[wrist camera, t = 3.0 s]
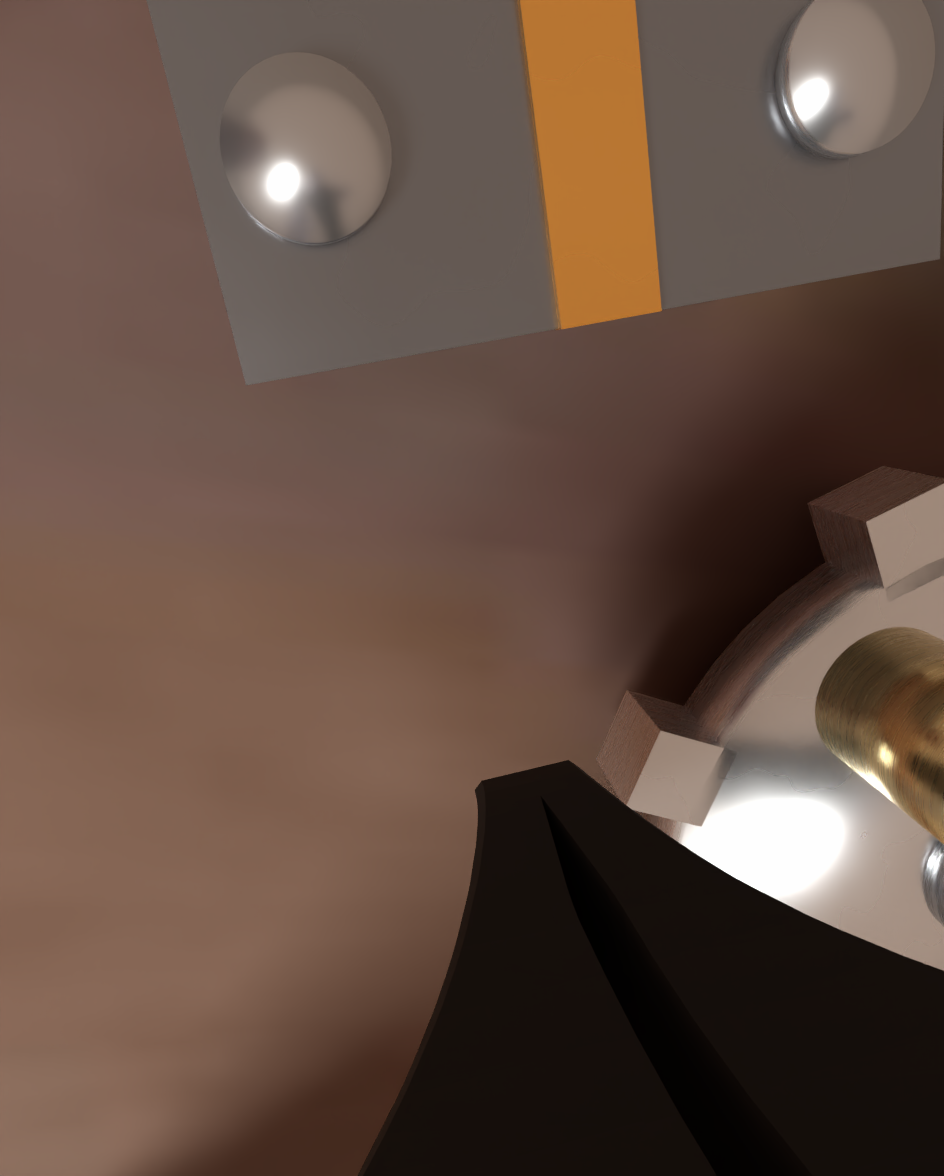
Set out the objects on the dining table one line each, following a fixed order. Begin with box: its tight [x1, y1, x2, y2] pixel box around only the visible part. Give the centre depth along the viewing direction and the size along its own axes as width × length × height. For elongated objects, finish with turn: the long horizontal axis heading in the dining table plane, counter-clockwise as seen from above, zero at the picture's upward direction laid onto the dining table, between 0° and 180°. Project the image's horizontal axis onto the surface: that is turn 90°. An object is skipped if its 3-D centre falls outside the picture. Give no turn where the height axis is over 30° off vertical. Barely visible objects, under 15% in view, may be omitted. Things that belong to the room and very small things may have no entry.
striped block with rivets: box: [147, 0, 944, 385], centre depth 9 cm, size 7×4×5 cm, turn 100°
